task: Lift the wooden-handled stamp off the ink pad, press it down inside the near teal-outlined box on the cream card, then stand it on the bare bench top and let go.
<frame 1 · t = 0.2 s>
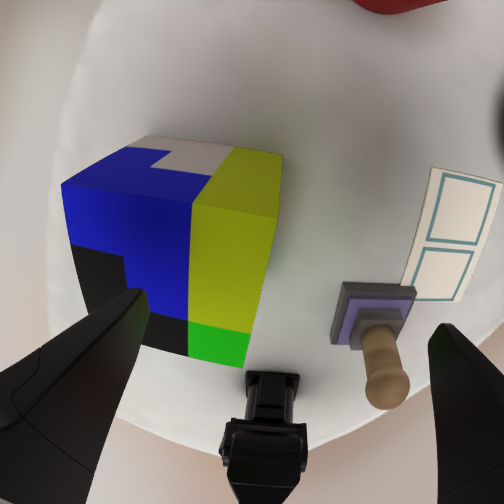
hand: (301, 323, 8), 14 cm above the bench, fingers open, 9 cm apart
puzzle toy: (205, 204, 22), on the bench
print card: (450, 244, 21), on the bench
stamp: (373, 323, 25), point 2 cm above the bench, touching ink pad
ink pad: (370, 312, 26), on the bench
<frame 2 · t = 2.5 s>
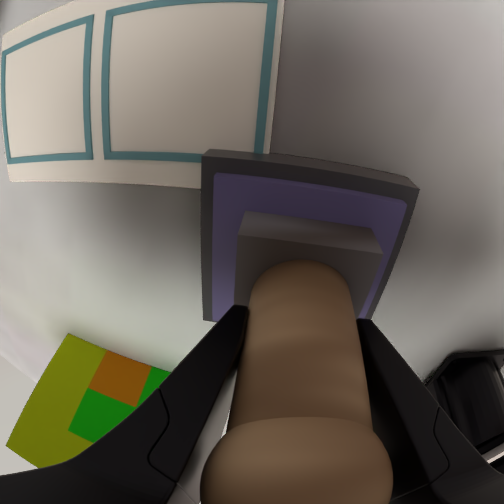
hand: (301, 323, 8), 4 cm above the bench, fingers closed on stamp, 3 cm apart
puzzle toy: (135, 388, 20), on the bench
print card: (99, 84, 8), on the bench
stamp: (299, 271, 10), point 2 cm above the bench, touching gripper, ink pad
ink pad: (298, 247, 11), on the bench
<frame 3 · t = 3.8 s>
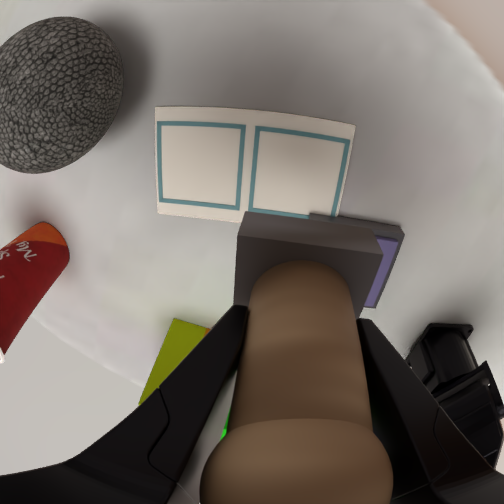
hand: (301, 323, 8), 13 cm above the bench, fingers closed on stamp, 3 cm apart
puzzle toy: (215, 358, 31), on the bench
print card: (247, 168, 19), on the bench
decorative ball: (93, 85, 17), on the bench
stamp: (299, 272, 10), point 11 cm above the bench, touching gripper
ink pad: (345, 259, 22), on the bench
paper cup: (51, 245, 25), on the bench
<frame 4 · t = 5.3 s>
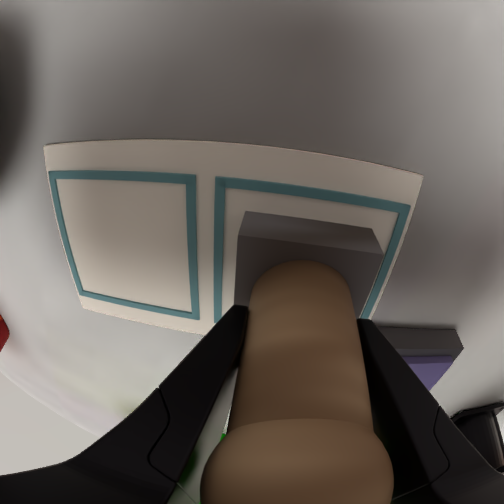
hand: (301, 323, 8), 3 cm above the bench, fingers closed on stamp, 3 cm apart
print card: (207, 256, 10), on the bench
stamp: (299, 272, 10), resting on print card, touching gripper
ink pad: (368, 373, 13), on the bench
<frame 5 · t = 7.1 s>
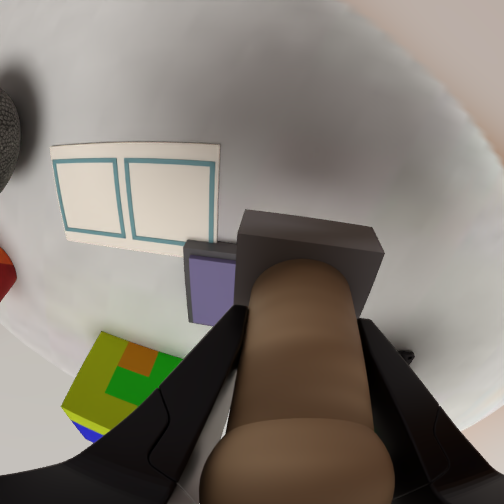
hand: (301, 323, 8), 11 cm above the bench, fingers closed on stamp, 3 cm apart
puzzle toy: (146, 369, 30), on the bench
print card: (125, 199, 18), on the bench
decorative ball: (10, 128, 16), on the bench
stamp: (300, 271, 10), point 8 cm above the bench, touching gripper
ink pad: (236, 285, 21), on the bench
paper cup: (2, 263, 24), on the bench
when the fingers open (3 cm above the bench, at t = 8.3 s): stamp stays where it is, on the bench.
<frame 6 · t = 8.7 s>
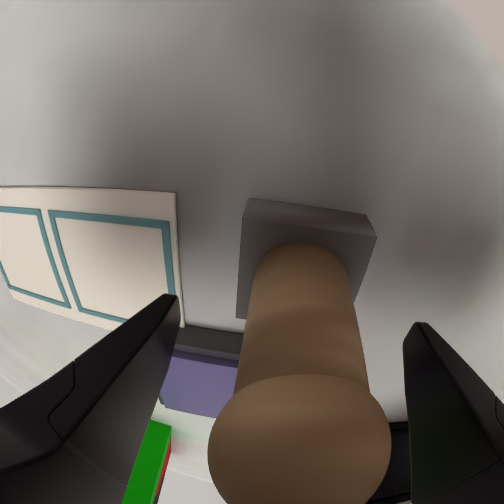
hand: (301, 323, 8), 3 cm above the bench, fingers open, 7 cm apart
puzzle toy: (125, 423, 24), on the bench
print card: (61, 262, 12), on the bench
stamp: (299, 256, 11), on the bench
ink pad: (217, 371, 15), on the bench
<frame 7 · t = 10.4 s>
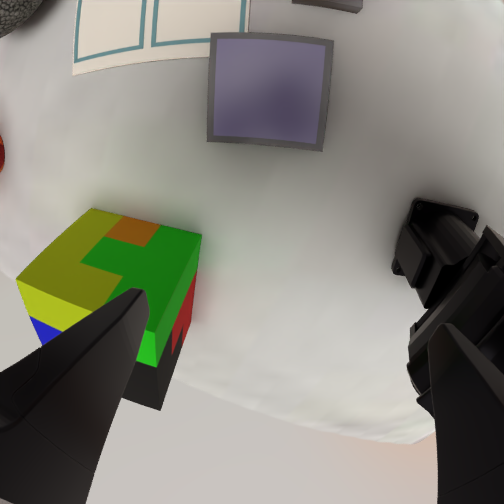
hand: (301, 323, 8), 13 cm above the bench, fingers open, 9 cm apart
puzzle toy: (142, 267, 25), on the bench
print card: (151, 9, 13), on the bench
ink pad: (269, 88, 16), on the bench
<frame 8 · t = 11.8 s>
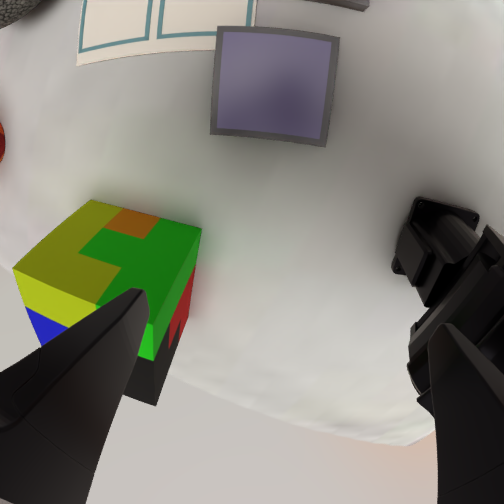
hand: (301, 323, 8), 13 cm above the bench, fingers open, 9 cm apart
puzzle toy: (141, 261, 25), on the bench
print card: (158, 1, 13), on the bench
ink pad: (273, 83, 16), on the bench
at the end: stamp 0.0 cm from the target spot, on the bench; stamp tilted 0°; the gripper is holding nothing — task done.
